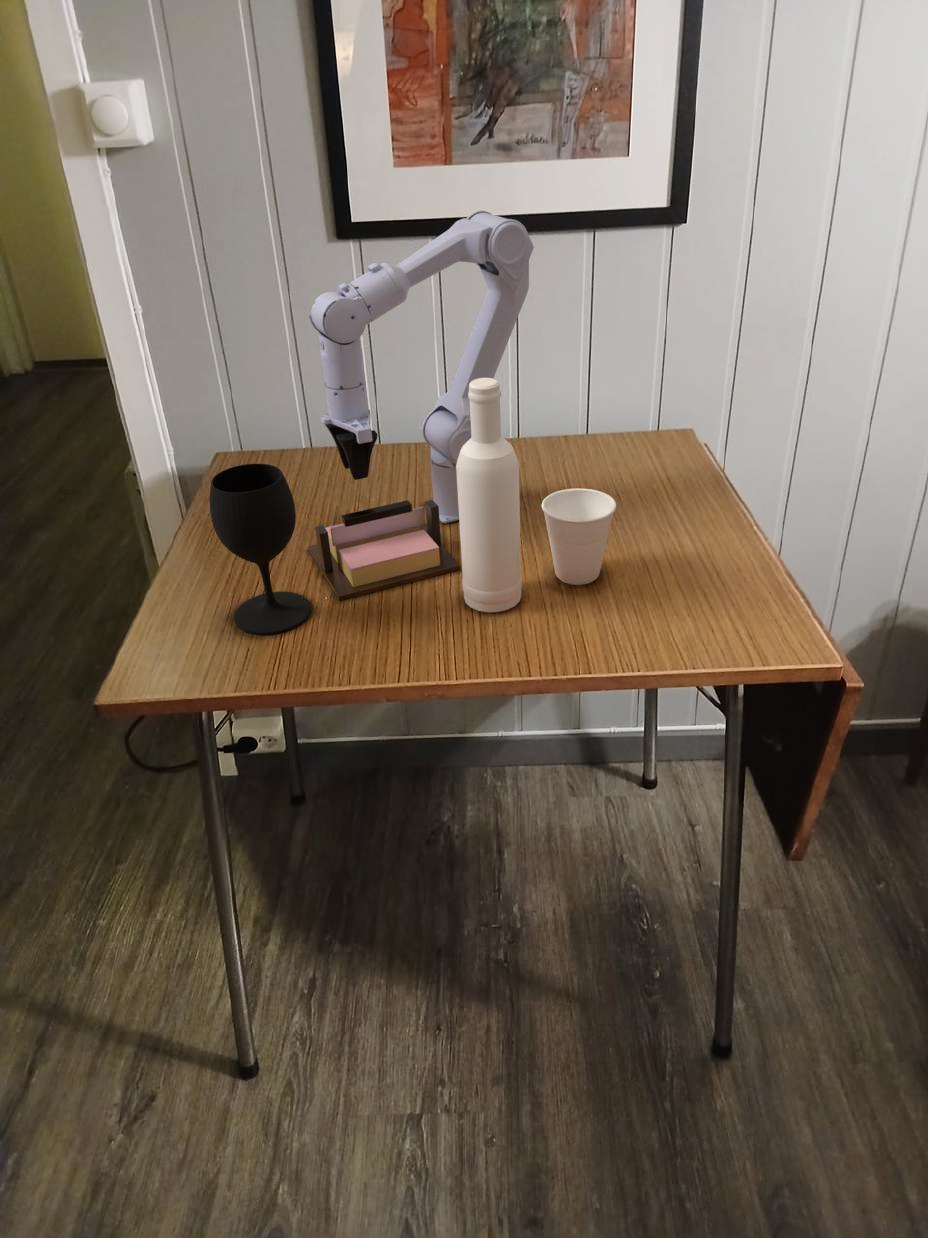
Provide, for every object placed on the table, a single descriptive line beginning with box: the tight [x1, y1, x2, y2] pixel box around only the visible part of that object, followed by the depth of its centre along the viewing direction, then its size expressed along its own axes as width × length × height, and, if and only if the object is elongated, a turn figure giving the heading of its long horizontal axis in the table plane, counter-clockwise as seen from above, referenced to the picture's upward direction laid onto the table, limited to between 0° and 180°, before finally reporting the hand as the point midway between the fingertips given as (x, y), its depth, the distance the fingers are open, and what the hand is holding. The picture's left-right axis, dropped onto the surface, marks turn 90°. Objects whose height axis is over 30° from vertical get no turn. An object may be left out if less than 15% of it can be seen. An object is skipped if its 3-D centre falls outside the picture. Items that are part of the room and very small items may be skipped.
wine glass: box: [209, 463, 312, 636], centre depth 120 cm, size 10×10×20 cm
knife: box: [330, 499, 426, 546], centre depth 133 cm, size 14×2×4 cm, turn 113°
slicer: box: [307, 499, 461, 602], centre depth 134 cm, size 18×16×7 cm
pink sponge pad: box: [325, 523, 440, 587], centre depth 135 cm, size 13×14×3 cm
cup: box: [540, 487, 617, 586], centre depth 127 cm, size 10×10×11 cm
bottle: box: [456, 378, 523, 614], centre depth 118 cm, size 8×8×30 cm
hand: (356, 472), depth 137 cm, fingers open, 4 cm apart
